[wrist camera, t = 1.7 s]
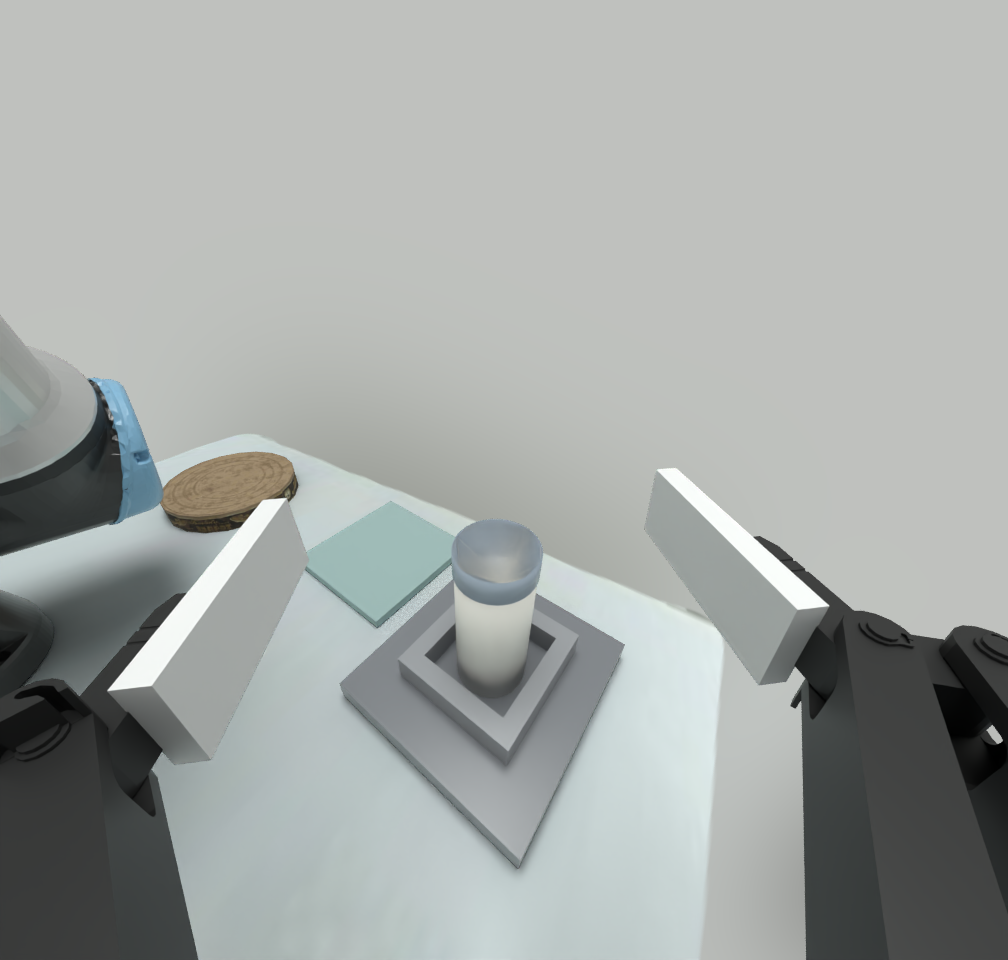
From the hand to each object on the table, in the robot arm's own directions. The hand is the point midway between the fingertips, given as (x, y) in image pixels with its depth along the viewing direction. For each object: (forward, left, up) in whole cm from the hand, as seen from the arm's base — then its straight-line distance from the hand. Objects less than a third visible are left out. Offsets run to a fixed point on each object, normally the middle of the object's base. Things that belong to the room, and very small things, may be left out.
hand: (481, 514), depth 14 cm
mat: (-23, +11, -25) cm, 36 cm away
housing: (-4, +7, -25) cm, 27 cm away
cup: (-4, +7, -23) cm, 25 cm away
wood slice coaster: (-49, +6, -26) cm, 56 cm away
